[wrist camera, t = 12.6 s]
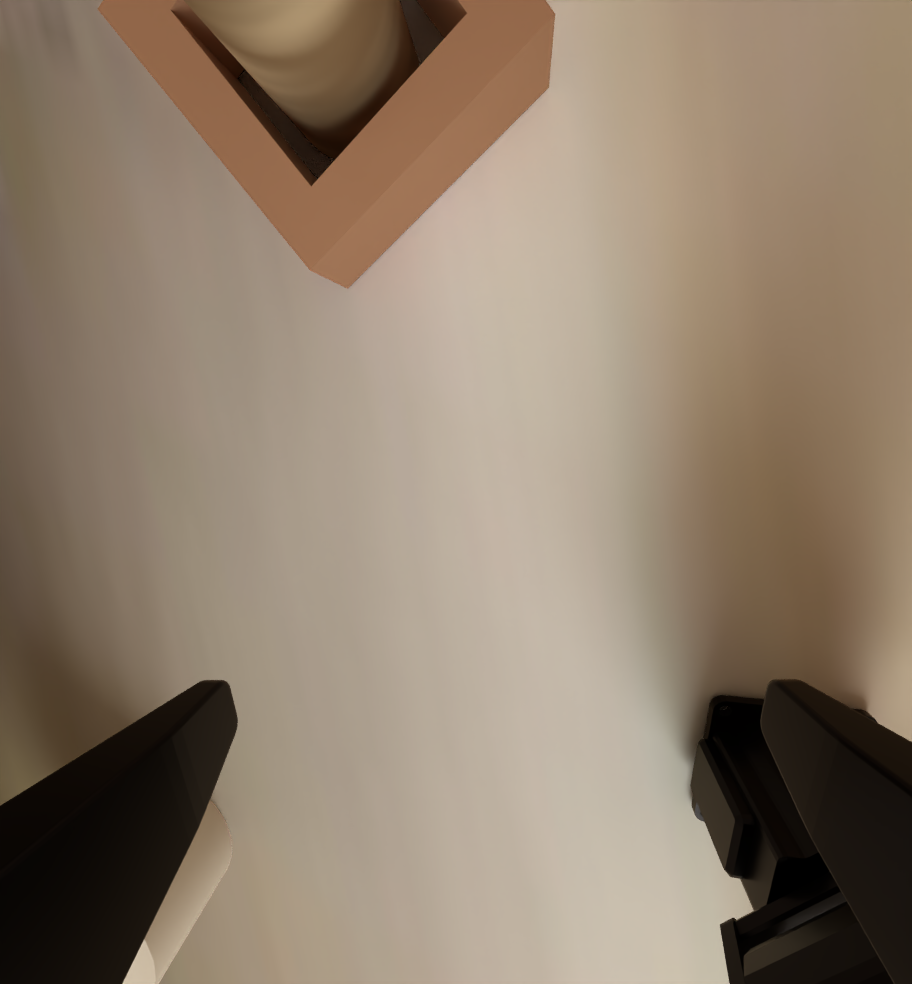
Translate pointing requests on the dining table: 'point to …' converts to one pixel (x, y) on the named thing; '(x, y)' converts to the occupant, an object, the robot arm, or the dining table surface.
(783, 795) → the robot arm
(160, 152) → the dining table surface
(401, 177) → the socket
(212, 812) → the base with upright slab
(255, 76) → the peg
